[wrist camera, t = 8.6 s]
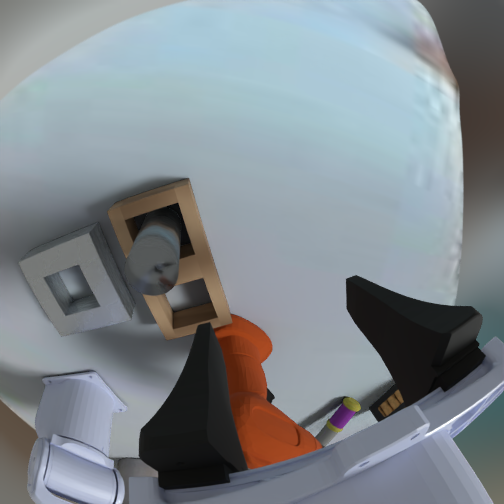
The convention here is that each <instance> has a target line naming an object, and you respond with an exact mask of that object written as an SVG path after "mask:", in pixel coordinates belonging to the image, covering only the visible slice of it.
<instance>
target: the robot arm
mask: <svg viewBox="0 0 504 504" xmlns="http://www.w3.org/2000/svg"><path fill="white" fill-rule="evenodd" d="M346 297H347V310H348V312H349V314H350V316H351V317H352V319H353V321H354V322H355V324H356V325H357V326H358V328H359V329H360V330H361V332H362V333H363V334H364V335H365V337H366V338H367V339H368V340H369V342H370V343H371V344H372V345H373V347H374V348H375V349H376V351H377V352H378V353H379V355H380V356H381V358H382V360H383V361H384V363H385V365H386V366H387V368H388V370H389V372H390V374H391V376H392V377H393V379H394V381H395V383H396V385H397V387H398V389H399V392H400V394H401V396H402V398H403V401H404V403H405V405H406V408H404V409H402V410H400V411H398V412H397V413H395V414H393V415H391V416H389V417H387V418H386V419H384V420H382V421H380V422H378V423H376V424H374V425H372V426H370V427H368V428H366V429H363V430H361V431H359V432H357V433H355V434H353V435H351V436H349V437H347V438H345V439H344V440H341V441H339V442H336V443H334V444H331V445H329V446H326V447H324V448H321V449H318V450H316V451H313V452H310V453H307V454H304V455H301V456H298V457H295V458H292V459H288V460H285V461H282V462H278V463H275V464H271V465H267V466H263V467H259V468H255V469H251V470H249V469H248V466H247V463H246V460H245V457H244V454H243V450H242V447H241V444H240V440H239V437H238V433H237V430H236V426H235V422H234V418H233V414H232V410H231V404H230V397H229V389H228V380H227V372H226V365H225V361H224V357H223V353H222V349H221V347H220V344H219V342H218V339H217V337H216V335H215V332H214V330H213V327H212V325H211V323H210V322H207V323H204V324H200V325H198V326H197V329H196V334H195V337H194V341H193V344H192V347H191V350H190V353H189V356H188V359H187V361H186V364H185V366H184V369H183V371H182V373H181V375H180V377H179V379H178V381H177V383H176V385H175V387H174V388H173V390H172V392H171V393H170V395H169V396H168V398H167V399H166V401H165V402H164V404H163V405H162V406H161V408H160V409H159V410H158V412H157V413H156V414H155V415H154V416H153V417H152V418H151V419H150V421H149V422H148V423H147V424H146V425H145V426H144V427H143V428H142V429H141V432H140V438H139V457H140V459H141V460H142V461H143V462H144V463H145V464H147V465H148V466H150V467H151V468H153V469H155V470H156V471H158V478H157V477H129V504H493V502H492V500H491V498H490V497H489V495H488V494H487V492H486V490H485V489H484V487H483V485H482V484H481V482H480V481H479V479H478V477H477V476H476V474H475V473H474V471H473V470H472V468H471V467H470V465H469V464H468V462H467V461H466V459H465V457H464V456H463V454H462V453H461V451H460V450H459V448H458V447H457V446H456V444H455V443H454V441H453V440H452V438H454V436H456V435H457V434H458V433H460V432H461V431H462V430H463V429H464V428H465V427H466V426H468V425H469V424H470V423H471V422H472V421H473V420H474V419H475V418H476V417H477V416H479V415H480V414H481V413H482V412H483V411H484V410H485V409H486V408H487V407H488V406H489V405H490V404H491V403H492V402H493V401H494V400H495V399H496V398H497V397H498V396H499V395H500V394H501V393H502V392H503V391H504V344H503V343H502V342H501V341H500V340H499V339H498V338H497V337H494V338H493V339H492V340H491V341H489V342H488V343H487V344H486V345H485V346H484V347H483V348H482V350H480V349H479V348H478V346H479V343H478V342H477V341H476V338H477V335H478V333H479V330H480V328H481V325H482V320H483V319H482V318H483V317H482V315H481V314H480V313H479V312H478V311H477V310H475V309H474V308H473V307H471V306H449V305H440V304H434V303H429V302H424V301H420V300H417V299H413V298H410V297H407V296H404V295H401V294H398V293H396V292H393V291H391V290H388V289H386V288H384V287H381V286H379V285H377V284H375V283H373V282H370V281H368V280H366V279H364V278H362V277H359V276H357V275H355V276H352V277H350V278H347V279H346ZM42 381H43V383H44V384H45V385H46V386H45V389H44V392H43V395H42V398H41V401H40V404H39V407H38V411H37V414H36V418H35V428H36V432H37V435H38V437H39V438H38V439H37V440H36V442H35V444H34V446H33V449H32V452H31V456H30V461H29V467H28V485H27V489H28V491H29V495H30V497H31V498H32V500H33V501H34V502H35V503H36V504H73V503H70V502H67V501H65V500H62V499H60V498H57V497H55V496H53V495H52V494H51V493H53V494H56V495H58V496H60V497H63V498H66V499H68V500H71V501H74V502H76V503H79V504H122V503H123V499H124V494H125V487H124V481H123V478H122V476H121V474H120V472H119V471H118V470H117V469H116V468H114V461H113V460H111V459H109V446H110V435H111V426H112V417H113V413H115V412H125V411H127V407H126V406H125V405H124V404H123V403H122V401H121V400H120V399H119V398H118V397H117V396H116V395H115V394H114V393H113V392H112V390H111V389H110V388H109V387H108V386H107V385H106V384H105V382H104V381H103V380H102V379H101V378H100V376H99V375H98V374H97V373H96V372H93V371H92V372H85V373H78V374H71V375H63V376H55V377H46V378H43V379H42ZM50 492H51V493H50Z"/></svg>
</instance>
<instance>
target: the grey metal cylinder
mask: <svg viewBox="0 0 504 504" xmlns="http://www.w3.org/2000/svg"><path fill="white" fill-rule="evenodd" d="M181 227H182V224H181V219H180V217H179V215H178V214H177V213H176V212H175V211H174V210H172V209H171V208H168V207H162V208H159V209H156V210H153V211H150V212H149V213H148V214H147V216H146V217H145V220H144V222H143V224H142V226H141V228H140V230H139V232H138V234H137V237H136V239H135V241H134V243H133V246H132V248H131V250H130V252H129V255H128V257H127V259H126V262H125V266H124V272H125V276H126V279H127V281H128V283H129V284H130V285H131V286H132V287H133V288H134V289H135V290H136V291H138V292H140V293H142V294H145V295H149V296H157V295H162V294H165V293H167V292H168V291H170V290H171V289H172V288H173V287H174V286H175V284H176V282H177V280H178V275H179V256H180V240H181Z"/></svg>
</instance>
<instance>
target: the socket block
mask: <svg viewBox="0 0 504 504" xmlns="http://www.w3.org/2000/svg"><path fill="white" fill-rule="evenodd" d="M18 264H19V266H20V268H21V270H22V272H23V274H24V276H25V277H26V279H27V281H28V283H29V285H30V287H31V289H32V290H33V292H34V294H35V296H36V297H37V299H38V301H39V303H40V304H41V306H42V308H43V309H44V311H45V312H46V314H47V316H48V317H49V319H50V320H51V322H52V323H53V325H54V326H55V328H56V329H57V331H58V332H59V334H60V335H61V337H62V336H67V335H71V334H76V333H80V332H84V331H89V330H93V329H97V328H101V327H105V326H109V325H114V324H118V323H122V322H126V321H130V320H132V315H133V311H134V307H135V302H134V300H133V298H132V296H131V294H130V292H129V290H128V288H127V286H126V284H125V282H124V280H123V278H122V276H121V274H120V271H119V269H118V267H117V265H116V263H115V261H114V258H113V256H112V254H111V251H110V249H109V247H108V245H107V242H106V240H105V237H104V235H103V232H102V230H101V228H100V225H99V222H98V223H95V224H92V225H90V226H87V227H85V228H82V229H80V230H77V231H75V232H72V233H70V234H67V235H65V236H63V237H60V238H58V239H55V240H53V241H51V242H48V243H46V244H44V245H42V246H39V247H37V248H35V249H33V250H31V251H29V252H28V253H27V254H26V255H25V256H24V257H23V258H22V259H21V260H20V261H19V262H18ZM76 265H79V266H80V268H81V270H82V272H83V274H84V276H85V278H86V280H87V282H88V284H89V286H90V288H91V290H92V292H93V294H94V295H91V296H88V297H85V298H81V299H78V300H75V301H73V299H72V297H71V295H70V294H69V292H68V290H67V288H66V286H65V285H64V283H63V281H62V279H61V277H60V275H59V273H58V272H59V271H62V270H65V269H68V268H70V267H73V266H76Z"/></svg>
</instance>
